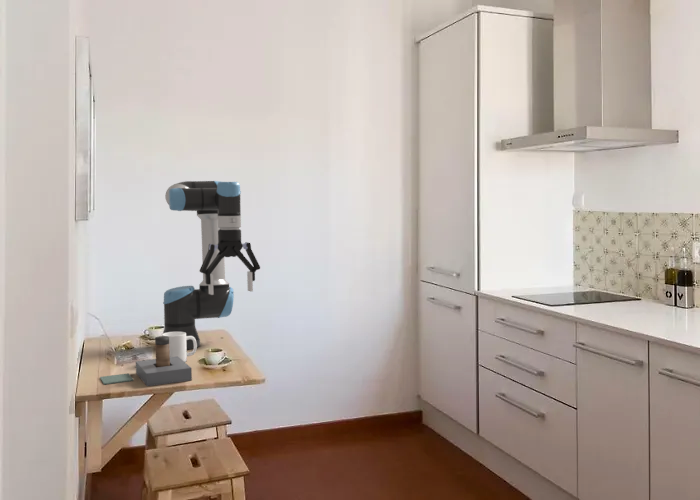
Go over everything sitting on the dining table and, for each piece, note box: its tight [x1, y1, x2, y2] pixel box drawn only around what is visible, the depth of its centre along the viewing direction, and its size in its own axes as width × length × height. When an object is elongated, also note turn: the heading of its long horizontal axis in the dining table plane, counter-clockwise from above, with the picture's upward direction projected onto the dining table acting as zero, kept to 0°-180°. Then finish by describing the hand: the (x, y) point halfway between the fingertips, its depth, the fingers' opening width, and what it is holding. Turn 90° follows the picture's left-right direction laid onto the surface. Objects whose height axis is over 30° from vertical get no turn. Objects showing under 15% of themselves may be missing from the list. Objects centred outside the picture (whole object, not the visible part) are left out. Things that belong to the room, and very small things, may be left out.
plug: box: [154, 335, 170, 367], centre depth 223 cm, size 4×4×13 cm
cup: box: [161, 332, 198, 363], centre depth 244 cm, size 8×12×10 cm
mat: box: [99, 372, 135, 386], centre depth 220 cm, size 9×9×1 cm
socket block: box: [135, 356, 193, 387], centre depth 223 cm, size 18×14×4 cm
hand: (230, 292), depth 227 cm, fingers open, 13 cm apart
